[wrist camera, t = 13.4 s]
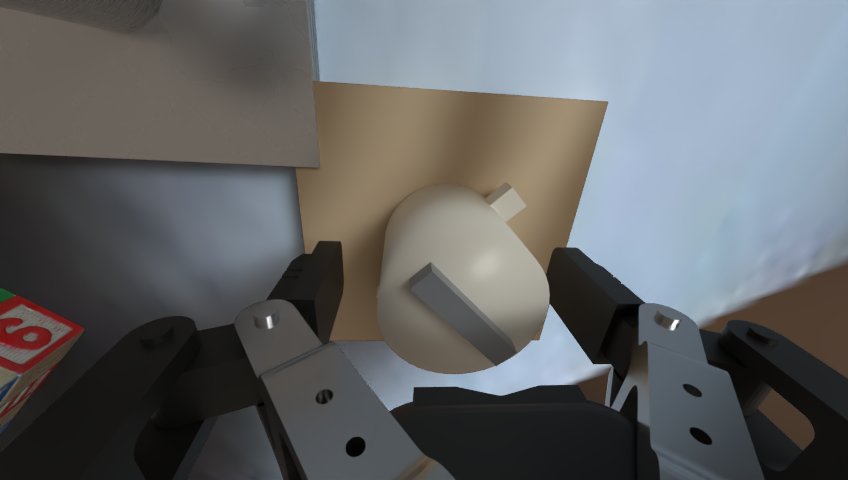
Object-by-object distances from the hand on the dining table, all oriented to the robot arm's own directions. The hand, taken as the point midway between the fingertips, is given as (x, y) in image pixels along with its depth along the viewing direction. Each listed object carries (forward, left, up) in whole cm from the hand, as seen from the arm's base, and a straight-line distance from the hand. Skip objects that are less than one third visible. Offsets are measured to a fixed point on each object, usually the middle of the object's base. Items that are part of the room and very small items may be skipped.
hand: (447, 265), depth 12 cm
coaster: (0, 0, -3) cm, 3 cm away
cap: (0, 0, -2) cm, 2 cm away
